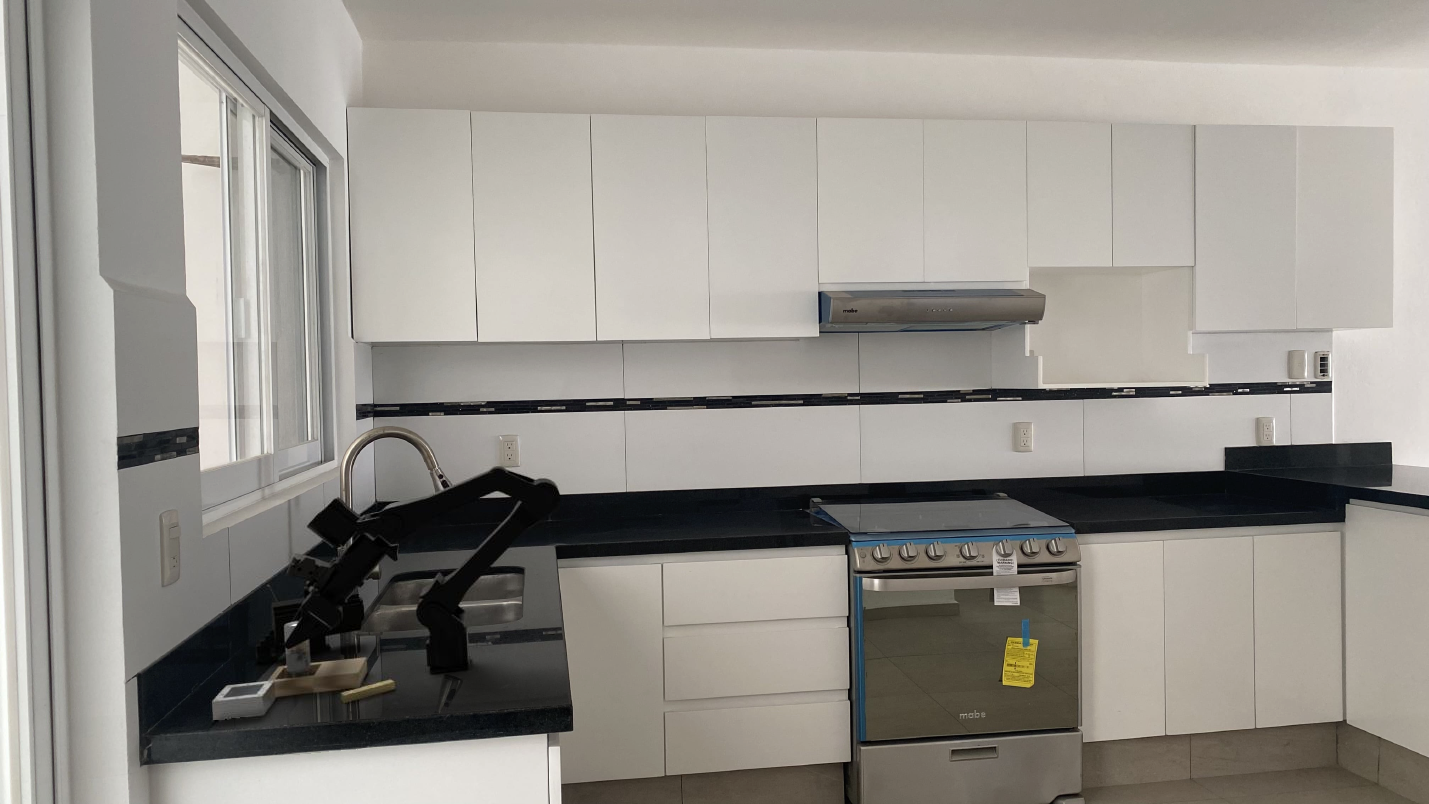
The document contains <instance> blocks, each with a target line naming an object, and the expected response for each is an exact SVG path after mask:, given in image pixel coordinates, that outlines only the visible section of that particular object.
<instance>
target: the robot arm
mask: <svg viewBox="0 0 1429 804" xmlns="http://www.w3.org/2000/svg"><path fill="white" fill-rule="evenodd" d="M496 492H499V493H501V494H504V495H505V496H508V497H509V498H512V499H515V500H517V503H516V505H515V506H514V508H513V509H512V510H511V512H510V514H509V515H508V516H507V517H506V519H504V520H503V521H502V522H501V523H500V524H499V525H498V527H497V528H495V530H494V531H493V532H491V534H490V535H488V537H487V538H486V539H485V540H484V541H483V542H482V543H481V544H480V545H479V546H478V547H477V548H476V549H475V550H474V551H472V553H471V554H470V555H469V556H468V557H467V558H466V559H465V560H464V562H462V563H461V564H460V566H459V567H458V568H456V569H455V570H454V571H453V572H451V573H450V574H448V575H447V576H445V577H444V576H443V574H442V573H441V572H438V573H437V575H436V576H435V577H434V579H433V580H432V582H431V583H429V584H428V585H426V586H424V587H423V588H422V590H421V592H420V594H419V597H418V598H419V602H418V604H417V606H416V609H415V610H416V611H415V614H416V619H417V621H418V623H420V625H422V626H423V627H425V628H427V630H428V632H429V634H428V639H426V643H425V649H426V651H425V652H426V666H427V667H428V668H429V670H428V671H429V672H428V673H429V674H434V673H444V672H452V671H453V672H454V671H463V670H469V668H470V662H471V655H470V651H469V649H470V648H469V632H468V630H469V629H468V626H465V622H466V617H467V611H466V610H465V609H464V608H463V607H461V606H460V603H461V602H462V600H463V599H464V597H465V596H466V594H467V592H468V591H469V589H470V588H472V586H473V585H474V584H475V583H476V582H477V581H478V580H479V579H480V578H481V577H482V576H483V575H484V574H485V573H486V572H487V571H488V570H489V568H491V567H492V566H493V565H494V564H495V563H496V562H497V561H498V560H499V559H500V557H501V556H502V555H503V554H504V553H505V552H506V551H507V550H508V549H509V548H511V546H512V545H513V544H514V543H515V542H516V541H517V540H518V539H519V538H520V537H521V536H522V535H523V534H524V533H525V532H526V531H527V530H529V529H531V528H532V527H534V526H536V525H537V524H538V523H540V522H542V521H543V520H544V519H546V518H548V516H550V515H552V513H554V512H555V511H556V510H557V509H558V508H559V506H560V504H561V493H560V490H559V488H558V485H557V484H556V482H554V481H553V480H551V479H550V478H546V477H545V478H541V477H540V478H537V479H534V478H531V477H530V476H527V475H524V474H521V473H517V472H514V471H512V470H509V469H506V468H505V467H504V466H499V465H497V466H493V467H491V468H489V469H488V470H487V471H485V472H482V473H479V474H477V475H475V476H472V477H470V478H468V479H465V480H462V481H461V482H457V483H455V484H453V485H451V486H448V487H446V488H444V489H441V490H438V491H436V492H434V493H432V494H429V495H425V496H421V497H416V498H415V497H414V498H409V499H405V500H400V501H396V502H392V503H390V504H388V505H386V506H385V507H384V508H383V509H382V510H381V511H378V512H372V513H369V512H367V514H364V515H362V516H361V515H359V513H357V512H356V511H355V510H353V509H352V508H351V507H350V506H349V505H348V504H346V502H345V501H344V500H343V499H342V498H340V497H339V496H336V497H335V498H333V499H332V500H331V502H330V503H329V504H328V505H327V506H325V507H324V508H323V509H322V510H321V511H319V512H318V513H317V514H316V515H315V516H314V518H313V519H311V520H310V522H309V523H308V524H307V526H306V528H307V529H309V530H310V531H311V532H312V533H314V534H315V535H316V536H318V537H319V538H320V539H322V540H323V541H324V542H325V543H326V544H328V545H329V546H330V547H331V548H335V547H337V548H338V547H339V546H340V547H342V548H343V547H345V545H346V544H347V543H348V542H349V541H350V540H351V539H352V538H353V537H354V536H355V534H356V533H359V535H358V536H357V537H356V538H355V539H354V541H352V542H351V543H350V545H349V546H348V547H347V548H346V549H345V550H344V551H343V552H342V553H341V554H340V556H339V557H333V558H332V559H331V561H330V562H327V561H323V560H322V559H319V558H315V557H312V556H308V555H304V554H302V553H299V552H295V553H294V555H293V557H292V559H291V562H290V564H289V565H288V568H287V570H286V571H287V572H286V574H285V575H286V576H287V577H289V578H293V579H296V578H298V579H300V580H304V581H306V584H305V585H304V586H303V587H304V588H303V596H304V597H303V598H304V601H303V603H301V607H300V609H299V610H298V612H297V614H296V615H295V617H294V619H293V620H292V622H296V621H298V623H297V625H296V626H295V628H294V629H293V631H292V632H291V634H290V635H289V637H288V638H287V640H286V642H285V643H284V645H283V644H282V645H283V646H284V647H285V648H287V649H291V648H293V647H295V646H297V645H299V644H301V643H302V642H304V641H306V640H308V639H310V638H312V637H315V636H317V635H319V634H321V633H323V632H325V631H327V630H331V629H332V628H335V627H336V626H337V625H338V624H339V623H340V622H341V620H342V607H344V606H345V604H346V603H347V599H348V598H349V597H350V596H351V595H352V594H353V592H354V591H355V590H356V591H357V589H358V588H360V589H361V588H362V587H363V585H365V581H366V579H367V578H368V577H369V576H370V575H371V573H373V571H375V570H376V568H377V567H378V566H379V565H380V564H381V563H382V561H384V560H385V558H386V557H389V558H390V559H391V560H392V561H393V562H398V560H399V558H400V557H399V546H400V545H399V543H395V544H391V543H389V542H395V541H400V540H401V539H402V540H403V539H404V538H405V537H407V536H409V535H410V534H411V533H413V532H415V531H416V530H417V529H419V528H421V527H422V526H423V525H425V524H426V523H428V522H429V521H431V520H432V519H434V518H435V517H438V516H441V515H443V514H445V513H448V512H450V511H453V510H455V509H457V508H460V507H463V506H464V505H467V504H469V503H472V502H475V501H476V500H480V499H481V498H484V497H486V496H488V495H490V494H493V493H496ZM371 534H372V535H377V536H376V537H373V536H372V535H371ZM388 541H389V542H388Z"/></svg>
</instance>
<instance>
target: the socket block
mask: <svg viewBox="0 0 1429 804" xmlns="http://www.w3.org/2000/svg"><path fill="white" fill-rule="evenodd" d="M276 698H277V697H275V683H274V681H268V680H267V681H265V680H264V681H258V682H247V683H238V684H228V685H226V686H225V687H224V688H223V689H222V690H221V691H220V692H219V693H218V694H217V696H215V698H214V699H213V700H212V702H211V705H212V720H213V722H215V721H214V720H219V721H225V719H227V720H232V719H231V718H236V719H241V718H240V717H245V718H251V717H252V718H253V717H260V716H265V714H267V713H266V712H267V711H268V710H269V709H270V707H271V706H272V705H273V703H274V702H275V701H276Z"/></svg>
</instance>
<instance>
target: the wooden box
mask: <svg viewBox="0 0 1429 804" xmlns="http://www.w3.org/2000/svg"><path fill="white" fill-rule="evenodd" d="M367 673H368V663H367V657H357V658H356V657H355V658H349V659H347V658H346V659H338V660H328V661H327V660H326V661H320V662H311V676H304V677H295V678H287V665H281V666H278V667H277V668H276V670H275V671H274V672H273V673H272V674H271V676H270V677H269V679H267V681H274V683H275V698H278V697H287V696H296V695H304V694H312V693H313V694H314V693H315V694H316V693H324V692H331V691H340V690H341V689H342V690H351V689H357V688H361V685H362V683H363V682H364V679H365V677H366V675H367ZM350 688H351V689H350Z"/></svg>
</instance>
